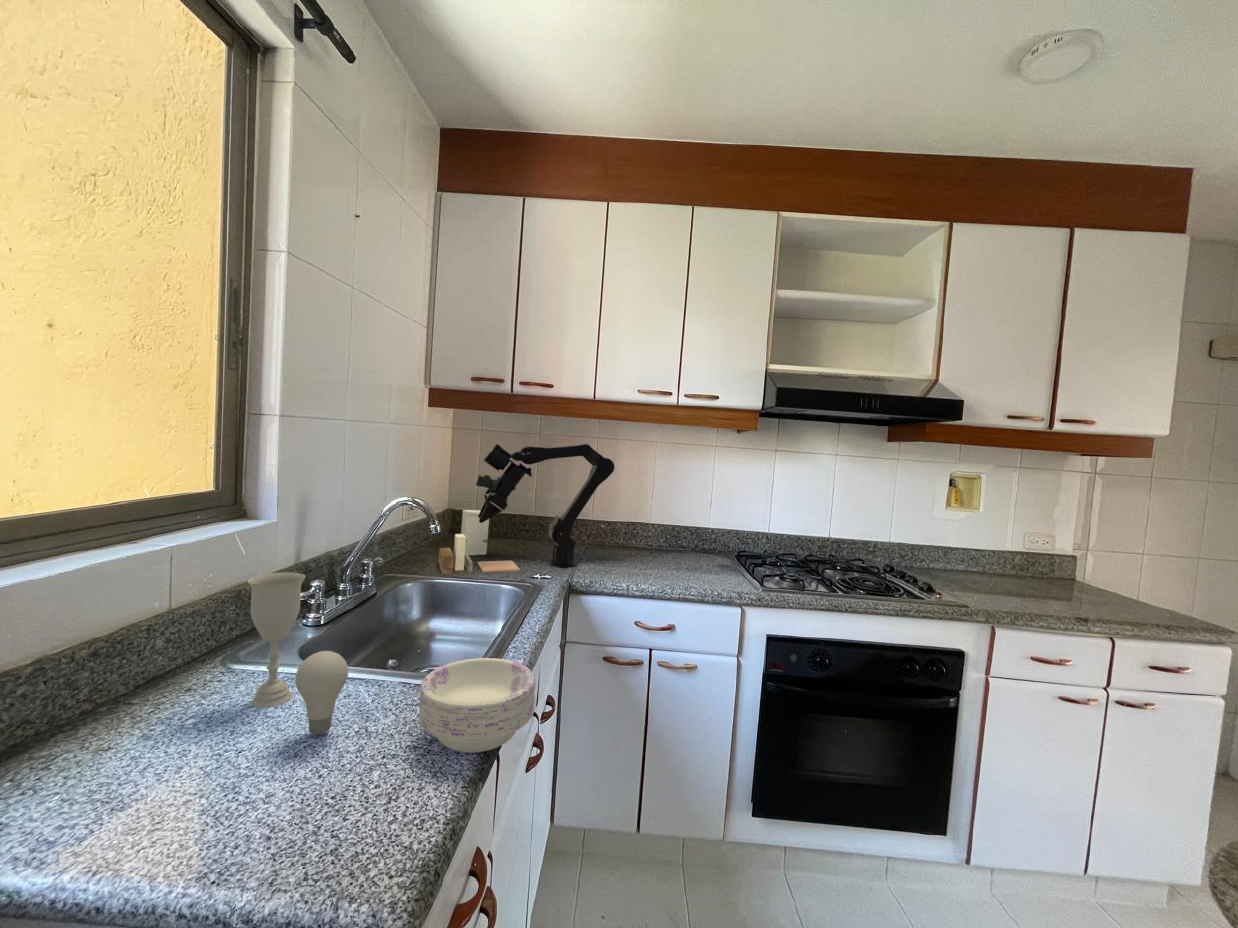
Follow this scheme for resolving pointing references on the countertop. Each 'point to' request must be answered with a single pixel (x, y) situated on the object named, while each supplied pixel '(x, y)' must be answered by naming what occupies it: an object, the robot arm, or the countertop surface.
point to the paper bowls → (476, 703)
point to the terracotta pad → (498, 566)
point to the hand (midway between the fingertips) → (479, 519)
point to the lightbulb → (321, 687)
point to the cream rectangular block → (459, 552)
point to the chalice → (274, 626)
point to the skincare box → (474, 533)
